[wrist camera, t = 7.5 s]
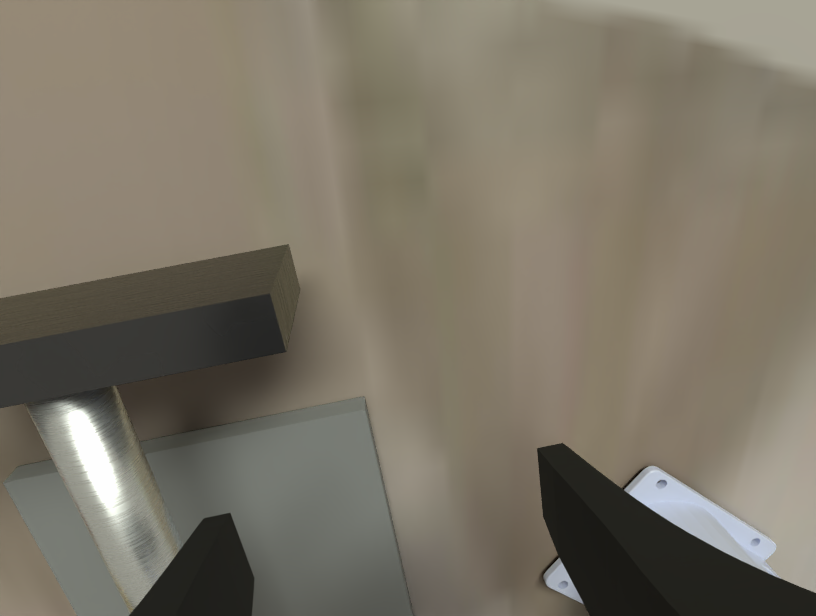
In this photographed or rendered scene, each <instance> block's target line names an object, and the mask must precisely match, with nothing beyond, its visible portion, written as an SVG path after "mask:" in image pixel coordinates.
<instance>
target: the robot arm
mask: <svg viewBox="0 0 816 616" xmlns="http://www.w3.org/2000/svg"><path fill="white" fill-rule="evenodd" d="M537 452H538V463H539V474H540V486H541V497H542V509H543V517H544V520H545V522H546V525H547V527H548V530H549V533H550V535H551V538H552V540H553V543H554V545H555V548H556V550H557V553H558V555H559V558H558V559H557V560H556V562H555V563H554V564H553V565H552V566H551V567H550V568H549V569H548V570H547V571H546V572H545V574H544V577H543V578H544V581H545V583H546V585H547V586H548V587H549V588H551V589H553V590H555V591H557V592H559V593H561V594H564V595H566V596H568V597H570V598H572V599H574V600H576V601H578V602H580V603H582V604H584V605H585V607H586V609H587V611H588V613H589V614H590V616H816V593H814V592H812V591H809V590H807V589H804V588H801V587H799V586H797V585H794V584H792V583H790V582H787V581H785V580H783V579H781V578H780V577H779V576H778V575H777V574H776V573H775V572H774V571H773V569H772V568H771V567H770V566H769V565H768V564H767V563H766V562H765V560H766V559H767V558H769V557H770V556H771V555H772V554H773V553H774V552H775V550H776V544H775V543H774V542H773V541H772V540H771V539H770V538H769V537H767V536H766V535H764V534H763V533H761V532H759V531H758V530H756V529H755V528H753V527H751V526H750V525H748V524H747V523H745V522H744V521H742V520H740V519H739V518H737V517H736V516H734V515H733V514H731V513H729V512H728V511H726V510H725V509H723V508H721V507H720V506H718V505H717V504H715V503H714V502H712V501H710V500H709V499H707V498H706V497H704V496H702V495H701V494H699V493H698V492H696V491H695V490H693V489H691V488H690V487H688V486H687V485H685V484H683V483H682V482H680V481H679V480H677V479H676V478H674V477H672V476H671V475H669V474H668V473H666V472H664V471H663V470H661V469H660V468H658V467H656V466H649V467H647V468H645V469H644V470H643V471H642V472H641V473H640V474H639V475H638V476H637V477H636V478H635V479H634V480H633V481H632V482H631V483H630V484H629V485H628V486H627V487H626V488H625V489H624V490H623V489H622V488H620V487H619V486H617V485H616V484H615V483H613V482H612V481H611V480H609V479H608V478H607V477H605V476H604V475H603V474H602V473H600V472H599V471H598V470H596V469H595V468H594V467H593V466H591V465H590V464H589V463H587V462H586V461H585V460H584V459H582V458H581V457H580V456H579V455H577V454H576V453H575V452H574V451H572V450H571V449H570V448H569V447H567V446H566V445H565V444H563V443H561V444H556V445H551V446H546V447H542V448H537ZM660 480H661V481H660ZM658 481H660V482H659V483H657V482H658ZM254 579H255V578H254V575H253V573H252V570H251V567H250V565H249V562H248V559H247V556H246V554H245V551H244V548H243V546H242V543H241V540H240V538H239V535H238V532H237V529H236V527H235V524H234V521H233V519H232V516H231V513H226V514H222V515H217V516H212V517H207V518H204V519H203V520H202V521H201V522H200V524H199V525H198V526H197V528H196V529H195V530H194V532H193V533H192V534H191V536H190V537H189V538H188V540H187V541H186V542H185V544H184V545H183V546H182V548H181V549H180V550H179V552H178V553H177V555H176V556H175V557H174V559H173V560H172V561H171V563H170V564H169V565H168V567H167V568H166V569H165V571H164V572H163V573H162V575H161V576H160V577H159V578H158V580H157V581H156V582H155V584H154V585H153V586H152V588H151V589H150V590H149V591H148V593H147V594H146V595H145V597H144V598H143V599H142V600H141V602H140V603H139V604H138V605H137V606H136V608H135V609H134V610H133V611H132V613H131V614H130V615H129V616H252V607H253V594H254Z"/></svg>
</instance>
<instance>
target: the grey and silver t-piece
mask: <svg viewBox="0 0 816 616" xmlns="http://www.w3.org/2000/svg"><path fill="white" fill-rule="evenodd" d="M299 294H300V287H299V283H298V279H297V275H296V271H295V267H294V263H293V259H292V255H291V251H290V247H289V244H288V245H282V246H277V247H272V248H266V249H261V250H256V251H250V252H245V253H240V254H234V255H229V256H224V257H218V258H213V259H208V260H202V261H197V262H192V263H186V264H181V265H176V266H170V267H165V268H160V269H154V270H149V271H144V272H138V273H133V274H128V275H122V276H117V277H112V278H106V279H101V280H96V281H90V282H85V283H80V284H74V285H69V286H64V287H58V288H53V289H48V290H43V291H37V292H32V293H27V294H21V295H16V296H11V297H5V298H0V408H3V407H8V406H14V405H19V404H25V406H26V408H27V410H28V412H29V414H30V416H31V418H32V420H33V422H34V424H35V426H36V428H37V430H38V432H39V434H40V436H41V438H42V440H43V442H44V444H45V446H46V448H47V450H48V452H49V454H50V456H51V458H52V460H53V462H54V464H55V466H56V468H57V470H58V472H59V474H60V476H61V478H62V480H63V482H64V484H65V486H66V488H67V490H68V492H69V494H70V495H71V497H72V499H73V501H74V503H75V505H76V507H77V509H78V511H79V513H80V515H81V517H82V519H83V521H84V523H85V525H86V527H87V529H88V531H89V533H90V535H91V537H92V539H93V541H94V543H95V545H96V547H97V549H98V551H99V553H100V555H101V557H102V559H103V561H104V563H105V565H106V567H107V569H108V571H109V573H110V575H111V577H112V579H113V581H114V583H115V585H116V587H117V589H118V591H119V592H120V594H121V596H122V598H123V600H124V602H125V604H126V606H127V608H128V610H129V612H130V614H131V613H132V611H133V610H134V609H135V608H136V606H137V605H138V604H139V603H140V602H141V600H142V599H143V598H144V597H145V595H146V594H147V593H148V591H149V590H150V589H151V588H152V586H153V585H154V584H155V582H156V581H157V580H158V578H159V577H160V576H161V575H162V573H163V572H164V571H165V569H166V568H167V567H168V565H169V564H170V563H171V561H172V560H173V559H174V557H175V556H176V555H177V553H178V552H179V550H180V549H181V548H182V546H183V543H182V541H181V539H180V536H179V534H178V532H177V529H176V527H175V525H174V522H173V520H172V517H171V515H170V513H169V510H168V508H167V506H166V503H165V501H164V499H163V496H162V494H161V492H160V489H159V487H158V484H157V482H156V480H155V477H154V475H153V473H152V470H151V468H150V466H149V463H148V461H147V458H146V456H145V454H144V451H143V449H142V447H141V444H140V442H139V440H138V437H137V435H136V433H135V430H134V428H133V425H132V423H131V421H130V418H129V416H128V414H127V411H126V409H125V407H124V404H123V402H122V400H121V397H120V395H119V392H118V390H117V388H116V385H120V384H125V383H130V382H136V381H141V380H146V379H151V378H156V377H161V376H166V375H171V374H176V373H181V372H186V371H191V370H196V369H202V368H207V367H212V366H217V365H222V364H227V363H232V362H237V361H242V360H247V359H252V358H257V357H263V356H268V355H273V354H278V353H283V352H286V351H287V346H288V342H289V337H290V333H291V329H292V324H293V320H294V315H295V311H296V307H297V302H298V298H299Z"/></svg>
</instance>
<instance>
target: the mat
mask: <svg viewBox="0 0 816 616" xmlns="http://www.w3.org/2000/svg"><path fill="white" fill-rule="evenodd" d="M140 444H141V447H142V449H143V451H144V454H145V456H146V458H147V461H148V463H149V466H150V468H151V470H152V473H153V475H154V477H155V480H156V482H157V484H158V487H159V489H160V492H161V494H162V496H163V499H164V501H165V503H166V506H167V508H168V510H169V513H170V515H171V517H172V520H173V522H174V525H175V527H176V529H177V532H178V534H179V536H180V539H181V541H182V543H183V545H184V544H185V542H186V541H187V540H188V538H189V537H190V536H191V534H192V533H193V532H194V530H195V529H196V528H197V526H198V525H199V524H200V522H201V521H202V520H203V519H204V518H207V517H212V516H217V515H222V514H226V513H231V516H232V519H233V521H234V524H235V527H236V529H237V532H238V535H239V538H240V540H241V543H242V546H243V548H244V551H245V554H246V556H247V559H248V562H249V565H250V567H251V570H252V573H253V575H254V578H255V579H254V594H253V607H252V616H414V615H413V610H412V606H411V602H410V597H409V593H408V588H407V584H406V579H405V575H404V570H403V566H402V562H401V557H400V553H399V548H398V544H397V539H396V535H395V530H394V526H393V521H392V517H391V513H390V508H389V504H388V499H387V495H386V490H385V486H384V481H383V477H382V473H381V468H380V464H379V459H378V455H377V450H376V446H375V441H374V437H373V433H372V428H371V424H370V419H369V415H368V410H367V406H366V401H365V397H359V398H354V399H349V400H344V401H339V402H334V403H329V404H324V405H319V406H314V407H309V408H305V409H300V410H295V411H290V412H285V413H280V414H275V415H270V416H265V417H260V418H255V419H250V420H245V421H240V422H235V423H230V424H225V425H220V426H215V427H210V428H205V429H200V430H196V431H191V432H186V433H181V434H176V435H171V436H166V437H161V438H156V439H151V440H146V441H141V442H140ZM3 484H4V486H5V487H6V489H7V491H8V493H9V495H10V496H11V498H12V500H13V502H14V504H15V505H16V507H17V509H18V511H19V513H20V514H21V516H22V518H23V520H24V521H25V523H26V525H27V527H28V529H29V530H30V532H31V534H32V536H33V538H34V539H35V541H36V543H37V545H38V547H39V548H40V550H41V552H42V554H43V555H44V557H45V559H46V561H47V563H48V564H49V566H50V568H51V570H52V572H53V573H54V575H55V577H56V579H57V581H58V582H59V584H60V586H61V588H62V589H63V591H64V593H65V595H66V597H67V598H68V600H69V602H70V604H71V606H72V607H73V609H74V611H75V613H76V615H77V616H129V615H130V612H129V610H128V608H127V606H126V604H125V602H124V600H123V598H122V596H121V594H120V592H119V591H118V589H117V587H116V585H115V583H114V581H113V579H112V577H111V575H110V573H109V571H108V569H107V567H106V565H105V563H104V561H103V559H102V557H101V555H100V553H99V551H98V549H97V547H96V545H95V543H94V541H93V539H92V537H91V535H90V533H89V531H88V529H87V527H86V525H85V523H84V521H83V519H82V517H81V515H80V513H79V511H78V509H77V507H76V505H75V503H74V501H73V499H72V497H71V495H70V494H69V492H68V490H67V488H66V486H65V484H64V482H63V480H62V478H61V476H60V474H59V472H58V470H57V468H56V466H55V464H54V462H53V460H47V461H42V462H37V463H32V464H27V465H22V466H18V467H17V468H16V469H15V470H14V471H13V472H12V473H11V475H10V476H9V477H8V478H7V479H6V480H5V481H4V482H3Z"/></svg>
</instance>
